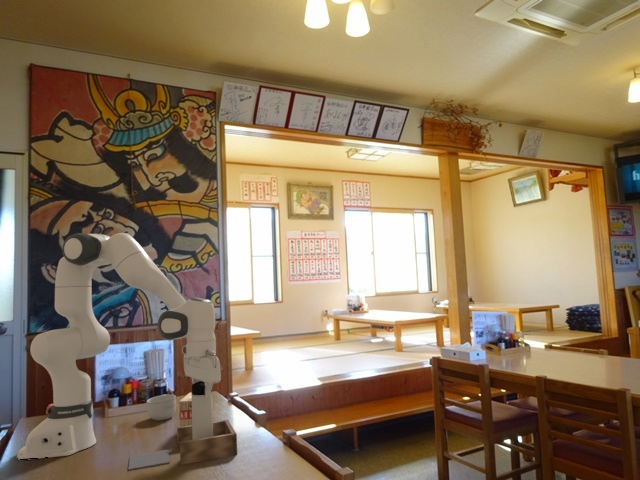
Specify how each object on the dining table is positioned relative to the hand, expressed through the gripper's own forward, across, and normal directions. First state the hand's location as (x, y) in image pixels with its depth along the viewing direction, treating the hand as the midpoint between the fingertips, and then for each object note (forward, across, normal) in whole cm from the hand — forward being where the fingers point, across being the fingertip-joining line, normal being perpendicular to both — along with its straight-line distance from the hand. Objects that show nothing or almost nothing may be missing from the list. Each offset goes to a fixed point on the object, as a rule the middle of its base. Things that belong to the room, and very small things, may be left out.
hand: (202, 394), depth 143 cm
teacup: (+18, +48, -4) cm, 51 cm away
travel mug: (+16, 0, 0) cm, 17 cm away
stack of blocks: (+18, +25, -9) cm, 32 cm away
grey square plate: (+17, +4, +15) cm, 23 cm away
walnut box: (+17, 0, 0) cm, 17 cm away
